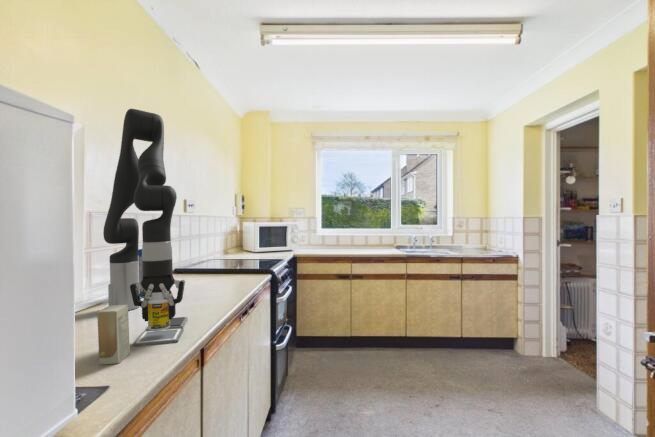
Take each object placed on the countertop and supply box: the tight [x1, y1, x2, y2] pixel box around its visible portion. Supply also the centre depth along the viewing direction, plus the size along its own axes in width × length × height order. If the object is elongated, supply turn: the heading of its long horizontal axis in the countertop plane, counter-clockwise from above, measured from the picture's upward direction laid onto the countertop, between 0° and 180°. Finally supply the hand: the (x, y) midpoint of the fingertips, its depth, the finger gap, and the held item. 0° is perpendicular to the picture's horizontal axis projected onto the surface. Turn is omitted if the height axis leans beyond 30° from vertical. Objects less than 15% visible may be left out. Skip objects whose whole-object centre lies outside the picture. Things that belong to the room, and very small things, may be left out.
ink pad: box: [145, 316, 188, 332], centre depth 113 cm, size 10×10×1 cm
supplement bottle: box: [147, 292, 170, 331], centre depth 101 cm, size 6×6×10 cm
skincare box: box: [96, 305, 131, 365], centre depth 87 cm, size 6×4×12 cm
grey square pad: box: [131, 328, 185, 347], centre depth 101 cm, size 11×10×1 cm
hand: (159, 319), depth 101 cm, fingers closed on supplement bottle, 5 cm apart
